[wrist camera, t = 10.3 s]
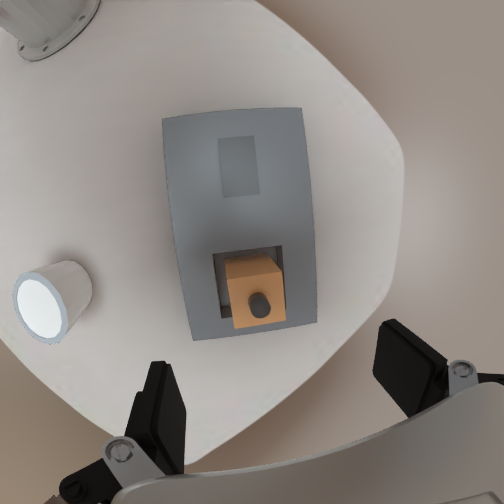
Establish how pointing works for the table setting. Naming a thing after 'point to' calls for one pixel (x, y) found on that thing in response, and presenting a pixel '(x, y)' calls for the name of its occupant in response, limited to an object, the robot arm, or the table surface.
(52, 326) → the white short cylinder
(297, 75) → the table surface
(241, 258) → the block
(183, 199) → the socket plate
